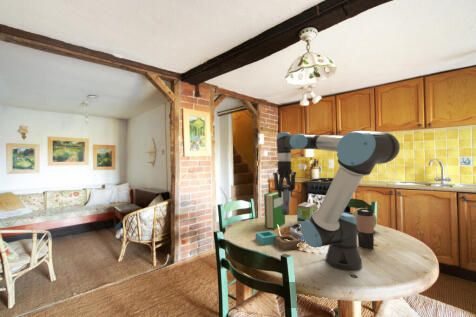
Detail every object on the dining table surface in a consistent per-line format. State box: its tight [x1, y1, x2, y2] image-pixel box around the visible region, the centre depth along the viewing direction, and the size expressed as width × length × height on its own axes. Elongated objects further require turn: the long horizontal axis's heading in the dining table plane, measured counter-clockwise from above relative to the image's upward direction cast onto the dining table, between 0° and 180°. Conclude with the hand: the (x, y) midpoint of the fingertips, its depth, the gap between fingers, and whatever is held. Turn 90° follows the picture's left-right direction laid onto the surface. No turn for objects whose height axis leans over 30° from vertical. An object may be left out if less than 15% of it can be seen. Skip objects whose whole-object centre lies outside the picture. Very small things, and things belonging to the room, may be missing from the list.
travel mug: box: [357, 208, 375, 250], centre depth 121 cm, size 8×8×20 cm
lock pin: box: [282, 183, 290, 216], centre depth 123 cm, size 5×5×16 cm
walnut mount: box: [274, 234, 301, 251], centre depth 123 cm, size 10×10×5 cm
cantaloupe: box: [351, 207, 378, 229], centre depth 148 cm, size 15×15×15 cm
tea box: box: [296, 201, 318, 225], centre depth 166 cm, size 15×10×15 cm, turn 143°
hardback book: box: [263, 190, 286, 231], centre depth 163 cm, size 18×7×24 cm, turn 144°
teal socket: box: [255, 230, 279, 246], centre depth 131 cm, size 10×10×5 cm
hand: (285, 202), depth 123 cm, fingers closed on lock pin, 4 cm apart
